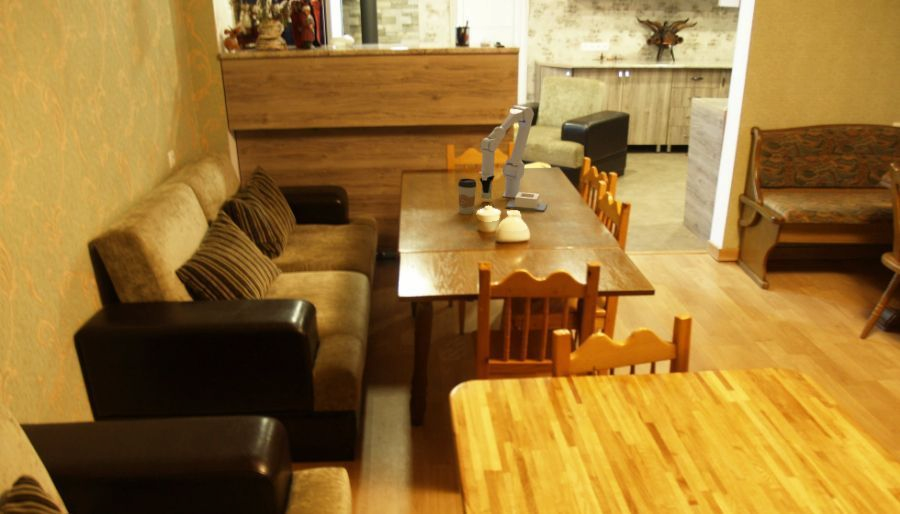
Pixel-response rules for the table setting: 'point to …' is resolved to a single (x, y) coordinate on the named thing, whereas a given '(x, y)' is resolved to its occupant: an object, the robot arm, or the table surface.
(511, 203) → the well
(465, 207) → the coffee cup
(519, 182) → the robot arm
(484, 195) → the peg
